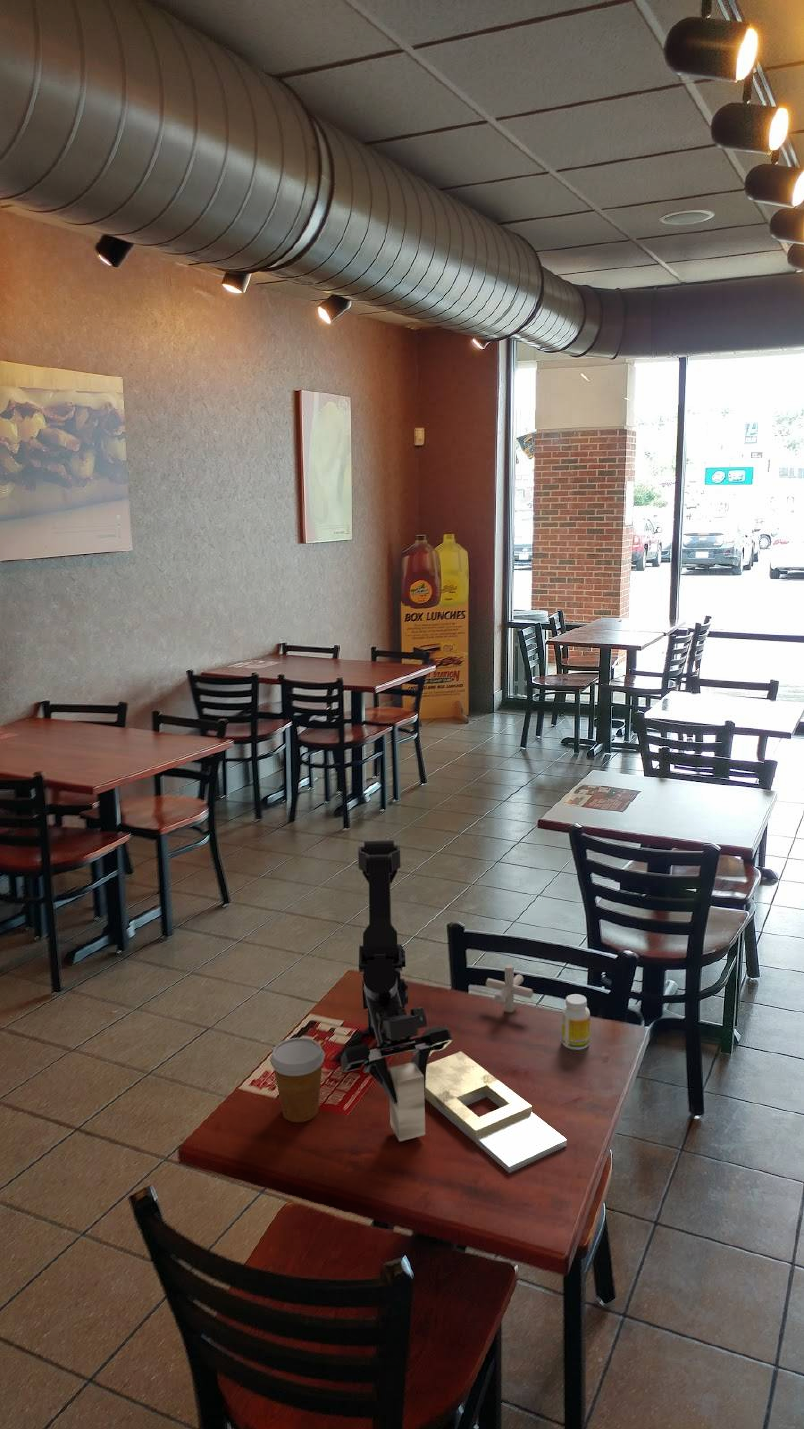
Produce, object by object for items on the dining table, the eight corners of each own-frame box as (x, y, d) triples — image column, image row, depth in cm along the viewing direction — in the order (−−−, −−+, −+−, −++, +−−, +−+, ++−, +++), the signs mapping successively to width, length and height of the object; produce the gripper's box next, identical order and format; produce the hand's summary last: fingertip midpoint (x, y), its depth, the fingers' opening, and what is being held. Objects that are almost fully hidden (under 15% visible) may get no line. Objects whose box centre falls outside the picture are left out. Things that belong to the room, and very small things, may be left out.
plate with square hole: (408, 1083, 183) (407, 1071, 182) (461, 1062, 189) (461, 1051, 189) (509, 1173, 158) (509, 1159, 158) (566, 1145, 164) (566, 1132, 164)
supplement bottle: (556, 1042, 195) (556, 998, 193) (574, 1033, 198) (574, 989, 196) (577, 1054, 191) (577, 1008, 189) (595, 1043, 194) (595, 999, 192)
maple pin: (390, 1125, 169) (388, 1067, 167) (415, 1119, 171) (414, 1061, 168) (399, 1141, 165) (397, 1082, 163) (425, 1134, 167) (423, 1076, 164)
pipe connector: (520, 1027, 201) (520, 981, 199) (477, 1014, 206) (476, 970, 204) (541, 1005, 209) (541, 961, 207) (498, 994, 215) (498, 951, 212)
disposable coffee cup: (264, 1122, 173) (260, 1060, 170) (288, 1091, 182) (285, 1032, 179) (313, 1132, 170) (310, 1069, 167) (336, 1101, 178) (333, 1040, 176)
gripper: (342, 1004, 163) (365, 1101, 156) (447, 983, 169) (474, 1075, 162) (331, 1024, 172) (352, 1117, 165) (430, 1003, 178) (456, 1091, 171)
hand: (409, 1099), depth 165 cm, fingers closed on maple pin, 5 cm apart
